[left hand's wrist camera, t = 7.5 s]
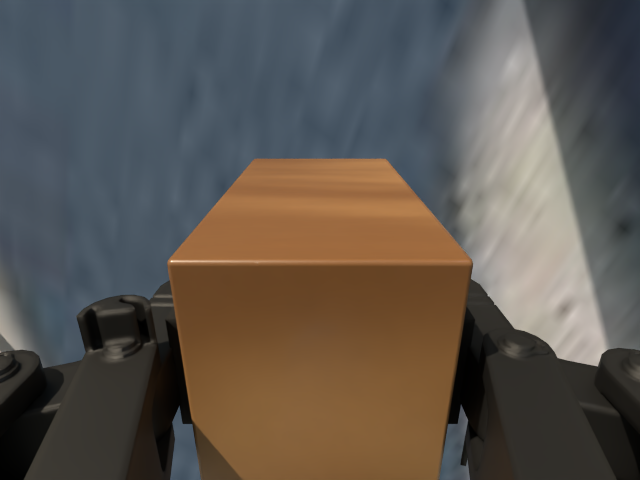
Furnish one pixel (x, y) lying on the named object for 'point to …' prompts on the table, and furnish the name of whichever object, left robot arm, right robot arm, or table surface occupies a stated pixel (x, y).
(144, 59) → the table surface
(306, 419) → the bar
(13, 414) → the left robot arm
